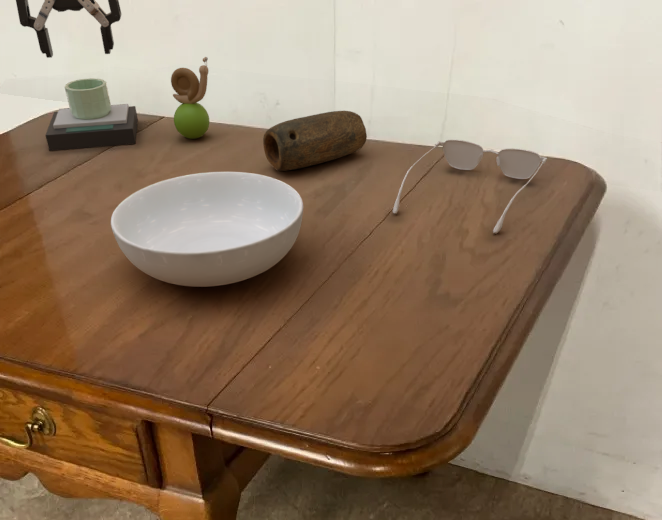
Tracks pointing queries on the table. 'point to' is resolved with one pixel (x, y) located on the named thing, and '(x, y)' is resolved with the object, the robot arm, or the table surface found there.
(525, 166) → the eyeglasses
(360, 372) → the table surface
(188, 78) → the snail figurine
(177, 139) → the table surface
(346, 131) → the hollow wooden cylinder
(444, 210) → the table surface
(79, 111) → the dip bowl
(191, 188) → the serving bowl
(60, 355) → the table surface
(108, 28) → the robot arm
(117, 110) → the scale
